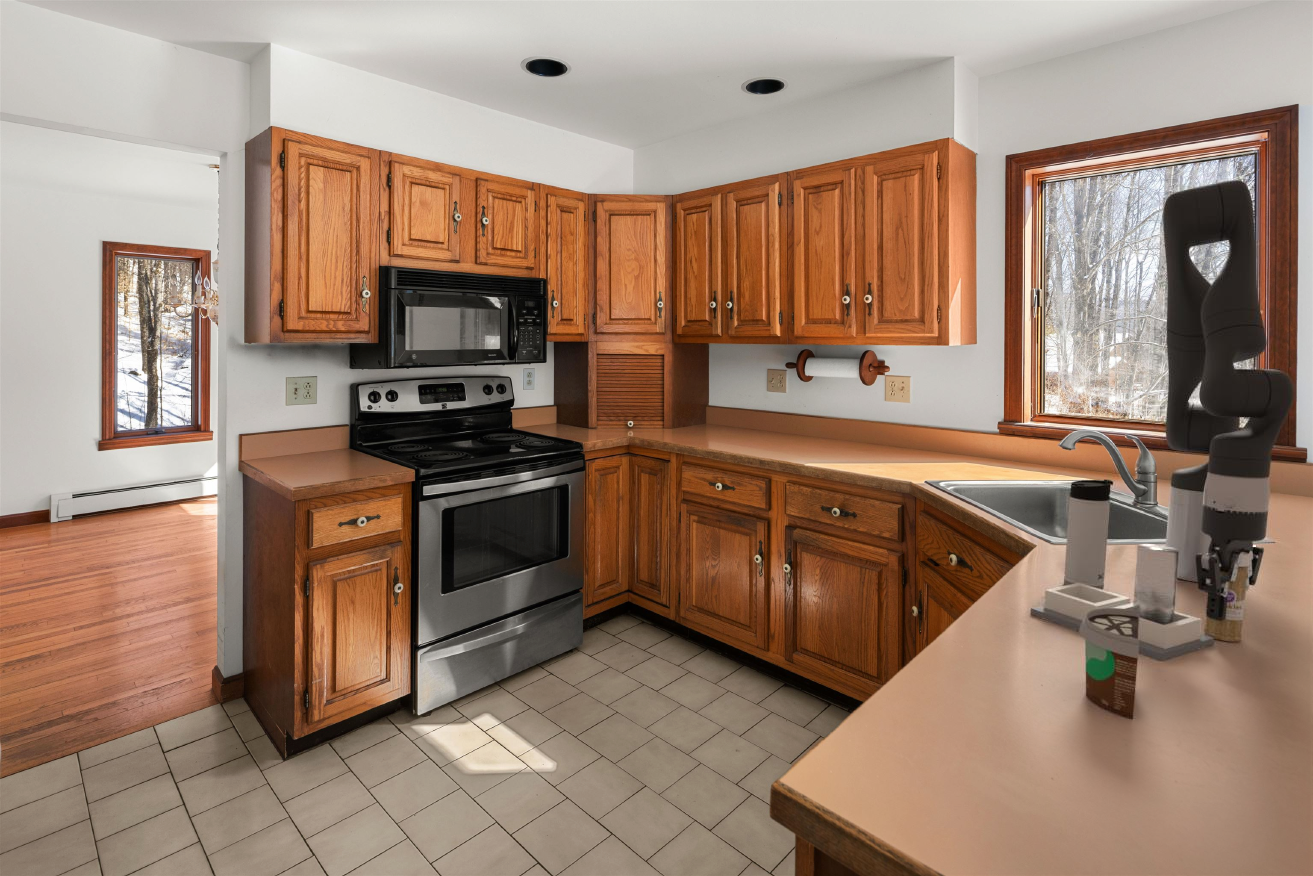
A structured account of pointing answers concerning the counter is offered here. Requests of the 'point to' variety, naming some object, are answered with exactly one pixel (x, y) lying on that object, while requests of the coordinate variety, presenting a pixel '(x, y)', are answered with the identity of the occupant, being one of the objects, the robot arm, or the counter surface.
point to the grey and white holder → (1153, 637)
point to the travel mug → (1087, 532)
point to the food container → (1111, 658)
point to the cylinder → (1156, 582)
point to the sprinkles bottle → (1231, 607)
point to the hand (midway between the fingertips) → (1224, 615)
